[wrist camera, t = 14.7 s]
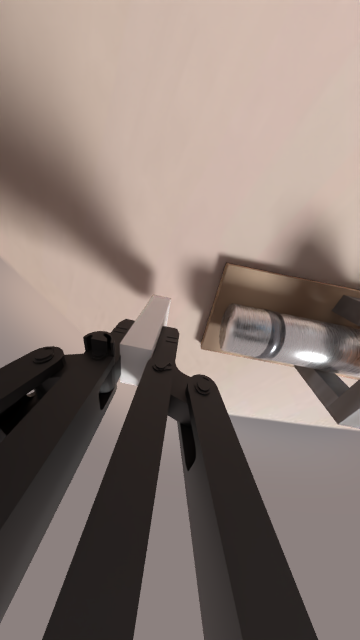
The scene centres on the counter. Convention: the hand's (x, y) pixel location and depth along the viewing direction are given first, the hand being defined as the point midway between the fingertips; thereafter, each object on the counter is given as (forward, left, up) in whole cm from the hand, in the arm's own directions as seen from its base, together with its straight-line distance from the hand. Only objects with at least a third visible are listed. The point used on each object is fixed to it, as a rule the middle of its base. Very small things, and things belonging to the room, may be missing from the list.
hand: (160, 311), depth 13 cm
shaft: (+12, 0, -1) cm, 12 cm away
